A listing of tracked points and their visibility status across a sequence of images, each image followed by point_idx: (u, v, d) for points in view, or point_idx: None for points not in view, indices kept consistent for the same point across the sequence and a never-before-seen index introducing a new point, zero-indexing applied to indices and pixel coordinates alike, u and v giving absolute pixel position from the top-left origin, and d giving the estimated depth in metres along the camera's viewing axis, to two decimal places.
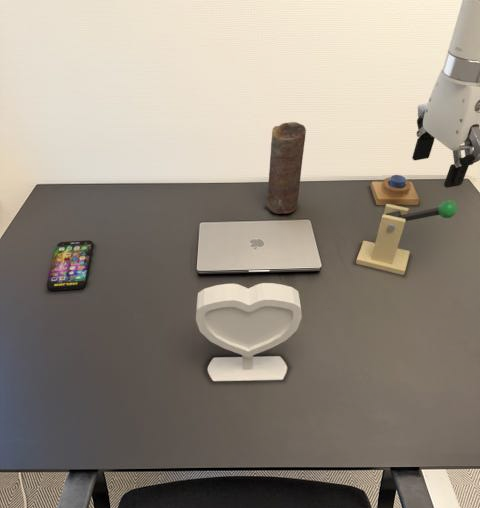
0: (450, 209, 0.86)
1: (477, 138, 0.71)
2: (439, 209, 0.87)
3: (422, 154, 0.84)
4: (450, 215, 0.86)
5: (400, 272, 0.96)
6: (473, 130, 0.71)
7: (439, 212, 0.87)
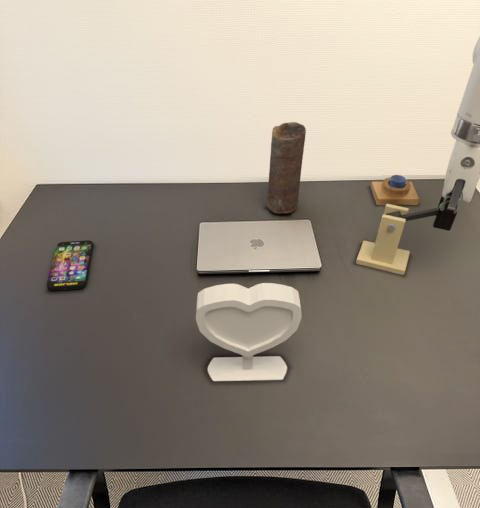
0: None
1: (452, 196, 0.79)
2: None
3: None
4: None
5: (400, 272, 0.96)
6: (455, 187, 0.79)
7: None
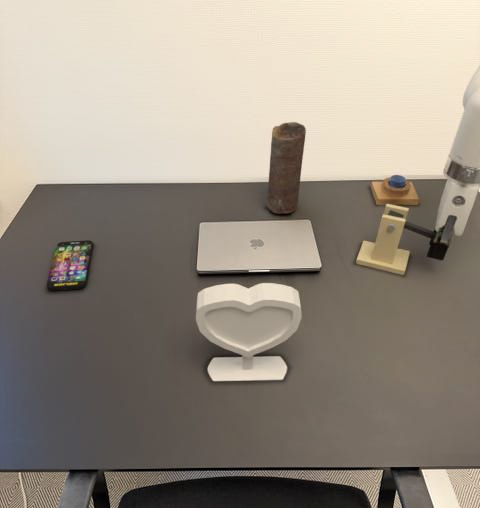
0: None
1: (444, 231, 0.84)
2: None
3: None
4: None
5: (400, 272, 0.96)
6: (447, 222, 0.84)
7: None
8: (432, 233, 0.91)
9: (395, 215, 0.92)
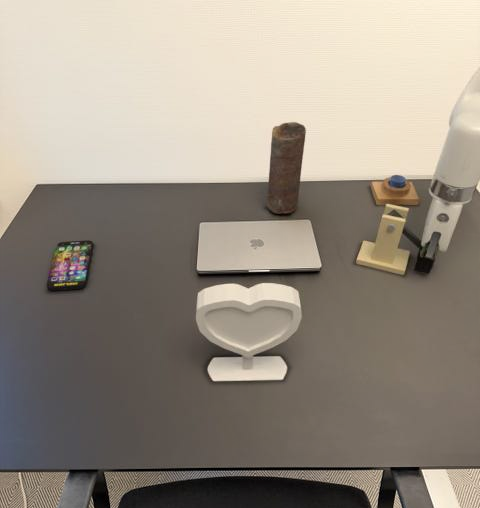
0: None
1: (429, 246, 0.87)
2: (426, 248, 0.93)
3: None
4: None
5: (400, 272, 0.96)
6: (432, 238, 0.87)
7: None
8: None
9: (397, 216, 0.92)
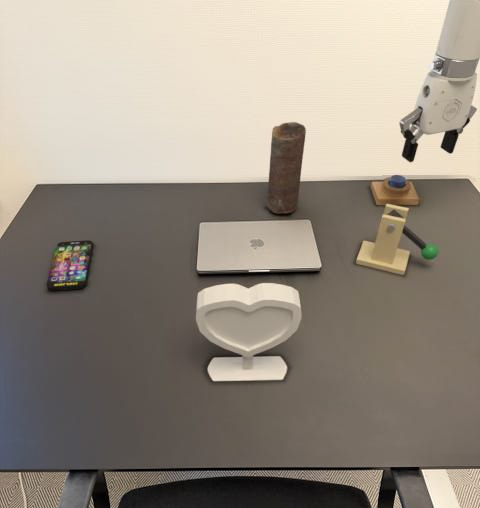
0: (433, 256, 0.93)
1: (409, 114, 0.89)
2: (427, 248, 0.93)
3: (445, 145, 0.97)
4: (427, 258, 0.94)
5: (400, 272, 0.96)
6: (416, 109, 0.88)
7: (424, 249, 0.94)
8: (423, 244, 0.94)
9: (397, 216, 0.92)
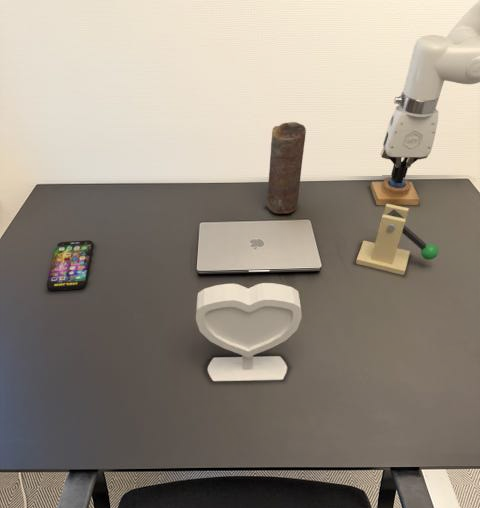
0: (433, 256, 0.93)
1: (384, 146, 1.08)
2: (427, 248, 0.93)
3: None
4: (427, 258, 0.94)
5: (400, 272, 0.96)
6: None
7: (424, 249, 0.94)
8: (423, 244, 0.94)
9: (397, 216, 0.92)
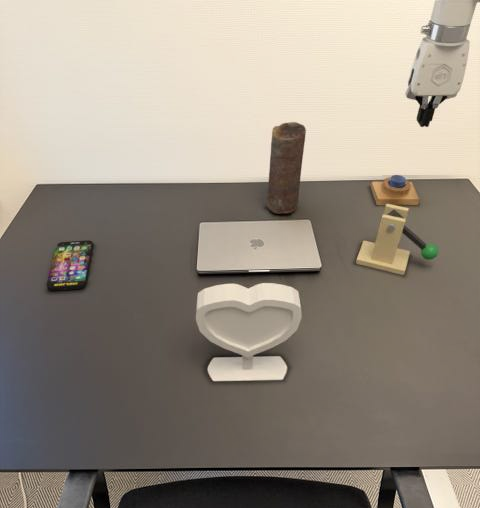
0: (433, 256, 0.93)
1: (409, 85, 1.00)
2: (427, 248, 0.93)
3: None
4: (427, 258, 0.94)
5: (400, 272, 0.96)
6: None
7: (424, 249, 0.94)
8: (423, 244, 0.94)
9: (397, 216, 0.92)
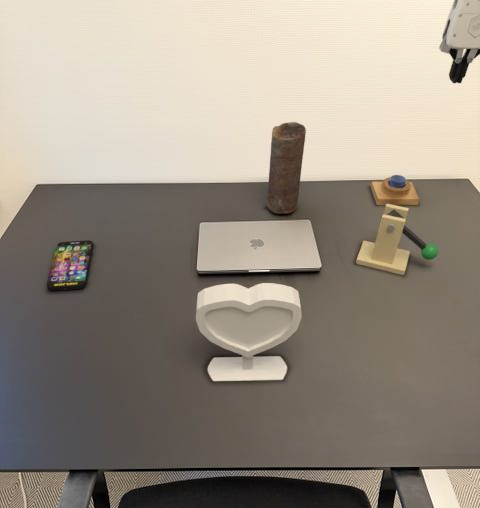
0: (433, 256, 0.93)
1: (444, 37, 0.97)
2: (427, 248, 0.93)
3: None
4: (427, 258, 0.94)
5: (400, 272, 0.96)
6: (448, 30, 0.96)
7: (424, 249, 0.94)
8: (423, 244, 0.94)
9: (397, 216, 0.92)
